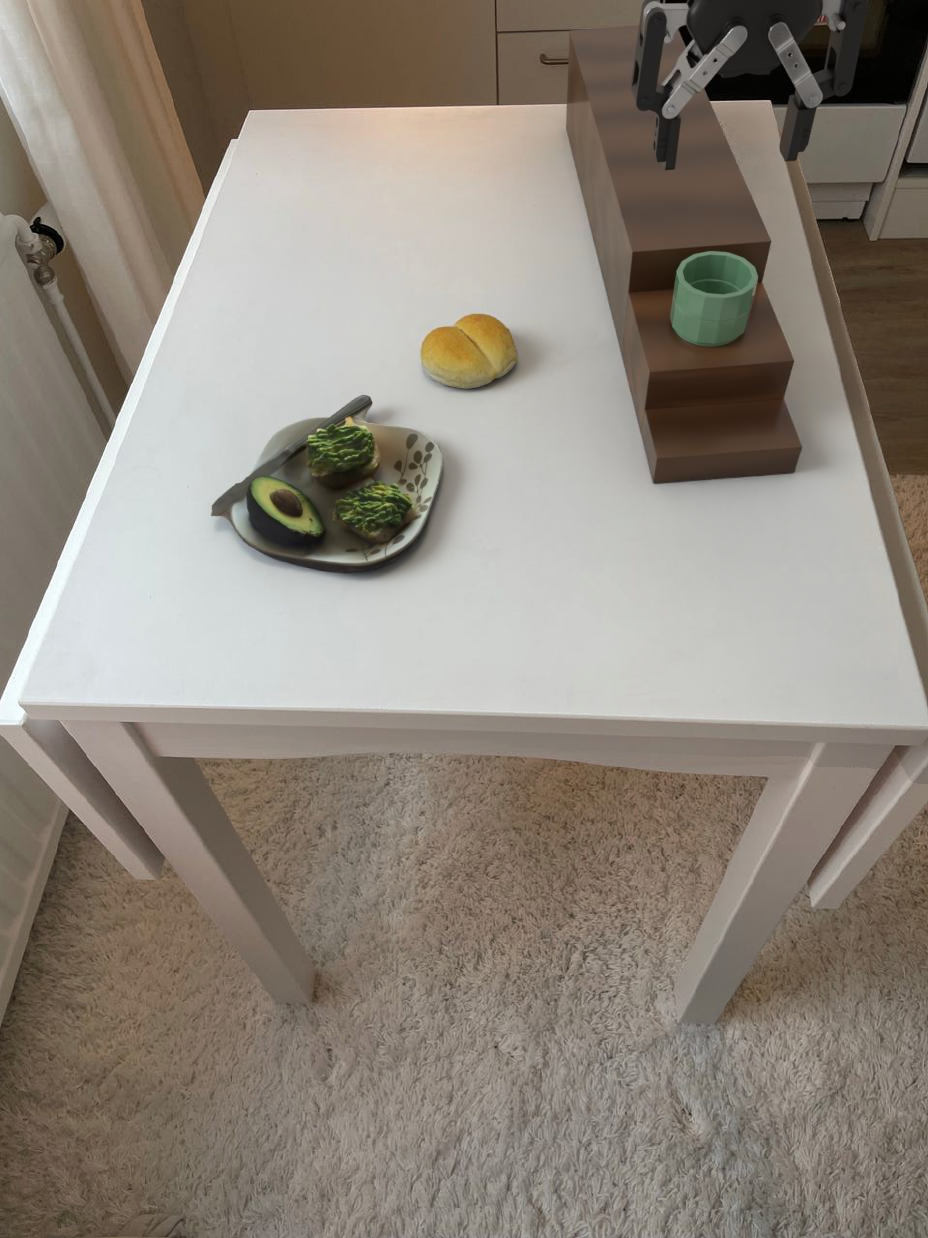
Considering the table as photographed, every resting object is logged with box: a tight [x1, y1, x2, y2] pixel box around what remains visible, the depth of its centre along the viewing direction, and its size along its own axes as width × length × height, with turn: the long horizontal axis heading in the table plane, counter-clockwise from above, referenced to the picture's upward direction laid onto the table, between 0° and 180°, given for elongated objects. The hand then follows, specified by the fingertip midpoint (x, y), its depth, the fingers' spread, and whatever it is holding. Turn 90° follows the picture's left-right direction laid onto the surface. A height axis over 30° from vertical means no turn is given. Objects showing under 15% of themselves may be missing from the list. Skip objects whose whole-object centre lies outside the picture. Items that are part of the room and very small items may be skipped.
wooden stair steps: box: [565, 24, 803, 484], centre depth 94 cm, size 61×12×11 cm, turn 3°
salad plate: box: [210, 394, 445, 574], centre depth 80 cm, size 19×18×5 cm
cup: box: [670, 251, 758, 347], centre depth 80 cm, size 6×6×5 cm
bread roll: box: [420, 313, 519, 390], centre depth 90 cm, size 8×9×4 cm
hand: (727, 160), depth 68 cm, fingers open, 8 cm apart
